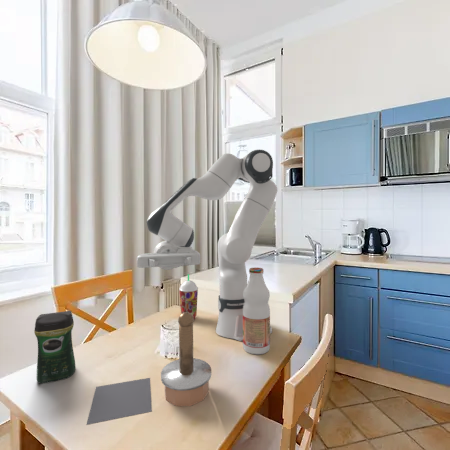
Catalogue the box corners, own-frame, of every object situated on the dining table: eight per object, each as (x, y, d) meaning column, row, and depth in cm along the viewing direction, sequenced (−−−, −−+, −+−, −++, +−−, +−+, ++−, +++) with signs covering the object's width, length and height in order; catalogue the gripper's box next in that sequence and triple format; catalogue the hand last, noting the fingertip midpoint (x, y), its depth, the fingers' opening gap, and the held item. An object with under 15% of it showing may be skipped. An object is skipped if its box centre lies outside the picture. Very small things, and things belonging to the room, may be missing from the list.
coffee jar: (77, 365, 86) (75, 306, 86) (73, 379, 79) (71, 315, 78) (40, 372, 83) (38, 310, 82) (33, 387, 76) (30, 320, 75)
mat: (150, 379, 79) (150, 377, 79) (151, 413, 66) (151, 411, 66) (96, 388, 75) (96, 386, 75) (86, 427, 62) (86, 424, 62)
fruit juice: (252, 358, 91) (253, 272, 89) (237, 345, 99) (237, 267, 98) (275, 350, 95) (275, 269, 94) (259, 339, 103) (259, 265, 102)
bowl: (202, 377, 80) (202, 360, 80) (212, 403, 69) (212, 384, 69) (163, 384, 77) (163, 366, 77) (167, 412, 66) (166, 392, 66)
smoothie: (197, 322, 120) (196, 276, 119) (177, 322, 120) (177, 276, 119) (199, 315, 128) (198, 272, 127) (181, 315, 129) (180, 272, 128)
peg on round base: (205, 358, 81) (205, 302, 80) (216, 384, 68) (216, 318, 68) (159, 365, 77) (158, 306, 76) (162, 395, 65) (161, 325, 64)
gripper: (136, 248, 95) (135, 254, 81) (195, 246, 100) (204, 251, 87) (136, 267, 95) (135, 276, 82) (195, 263, 101) (204, 271, 87)
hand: (171, 263), depth 84 cm, fingers open, 8 cm apart
